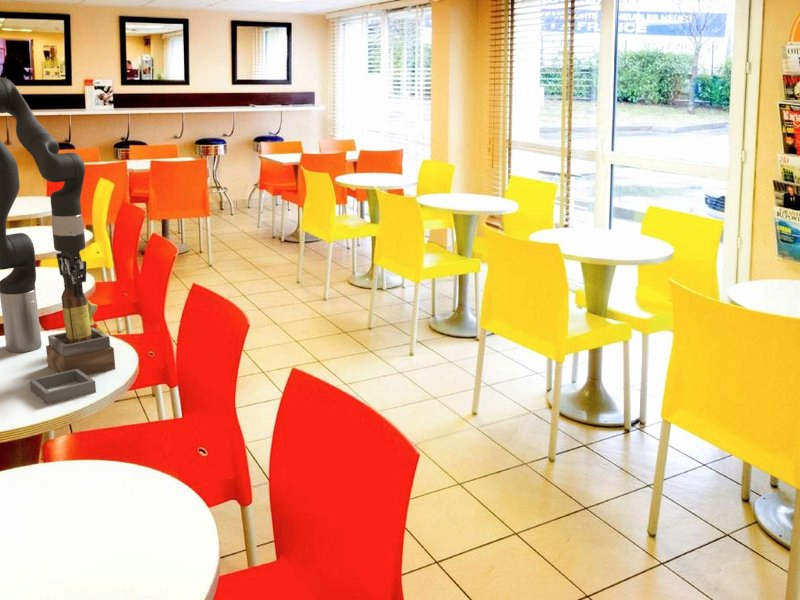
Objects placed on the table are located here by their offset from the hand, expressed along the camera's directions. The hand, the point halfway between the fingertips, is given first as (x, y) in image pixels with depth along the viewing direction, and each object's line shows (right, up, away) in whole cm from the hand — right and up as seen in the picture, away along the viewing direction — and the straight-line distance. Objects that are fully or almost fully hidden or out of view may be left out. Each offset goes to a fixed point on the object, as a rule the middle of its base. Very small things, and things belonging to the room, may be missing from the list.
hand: (74, 294), depth 204 cm
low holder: (+1, -25, -10) cm, 27 cm away
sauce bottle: (0, -13, +4) cm, 14 cm away
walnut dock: (-1, -20, +6) cm, 21 cm away
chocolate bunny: (-4, -16, +19) cm, 25 cm away
